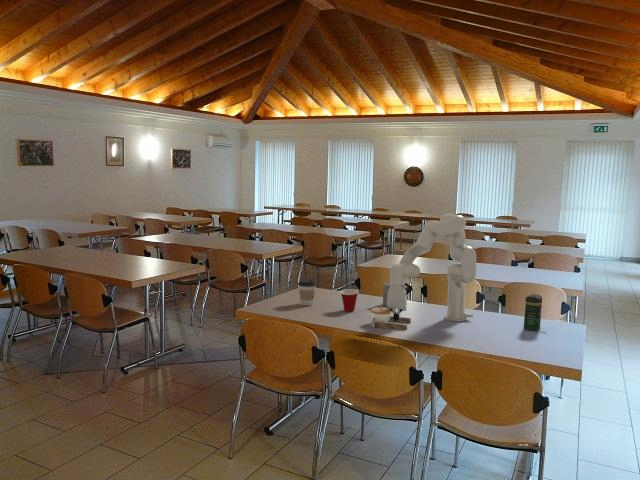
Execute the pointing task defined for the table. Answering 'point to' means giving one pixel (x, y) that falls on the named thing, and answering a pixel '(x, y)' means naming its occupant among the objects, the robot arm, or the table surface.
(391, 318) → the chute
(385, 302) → the pillar candle
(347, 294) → the plastic cup
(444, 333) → the table surface
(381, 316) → the lidded jar
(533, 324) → the coffee jar
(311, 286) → the coffee cup
